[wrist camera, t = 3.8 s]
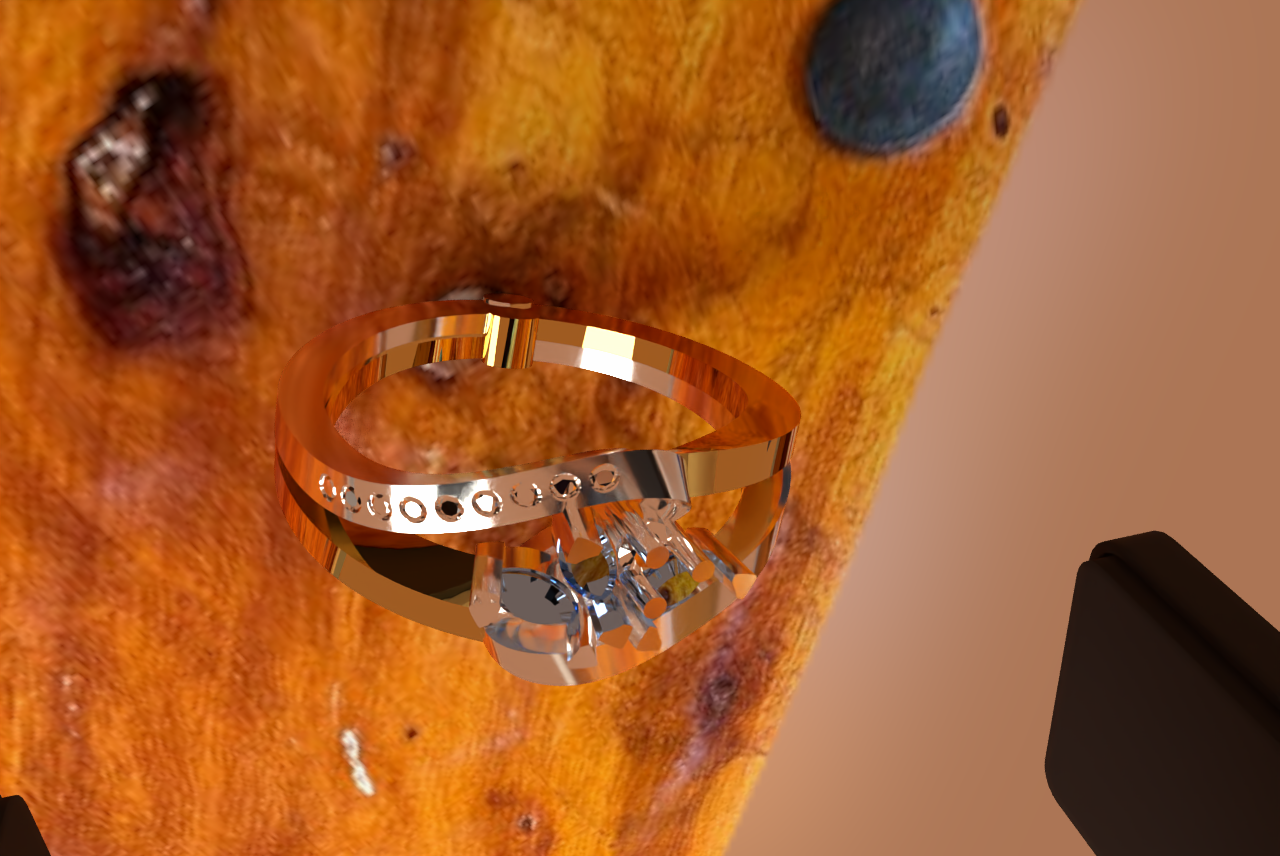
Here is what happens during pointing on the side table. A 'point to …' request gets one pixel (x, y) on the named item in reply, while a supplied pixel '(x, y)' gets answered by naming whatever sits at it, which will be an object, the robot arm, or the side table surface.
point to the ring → (539, 490)
